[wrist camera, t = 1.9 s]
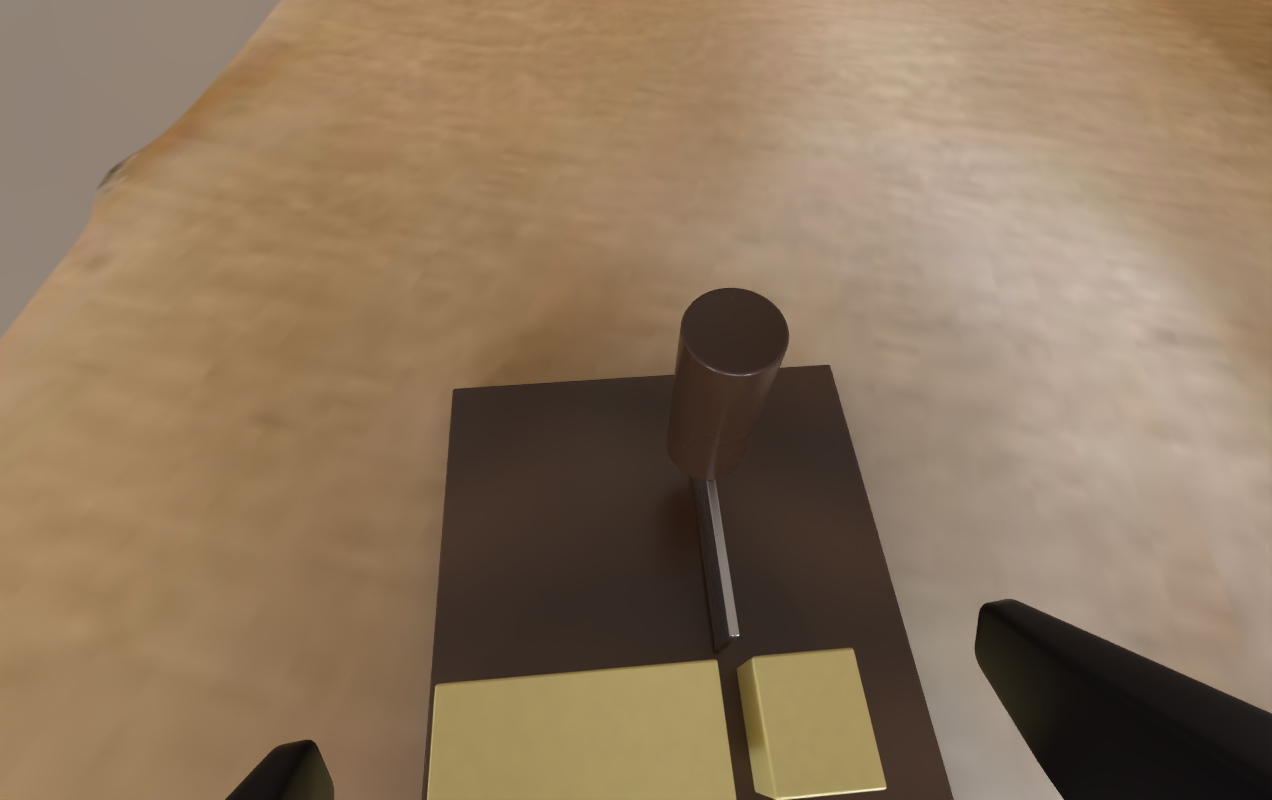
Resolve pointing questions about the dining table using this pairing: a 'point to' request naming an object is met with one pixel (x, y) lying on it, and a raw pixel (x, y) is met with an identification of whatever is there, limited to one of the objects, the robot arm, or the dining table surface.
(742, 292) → the brown mallet
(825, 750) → the butter pat
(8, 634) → the dining table surface
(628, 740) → the butter
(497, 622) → the board
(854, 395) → the dining table surface
